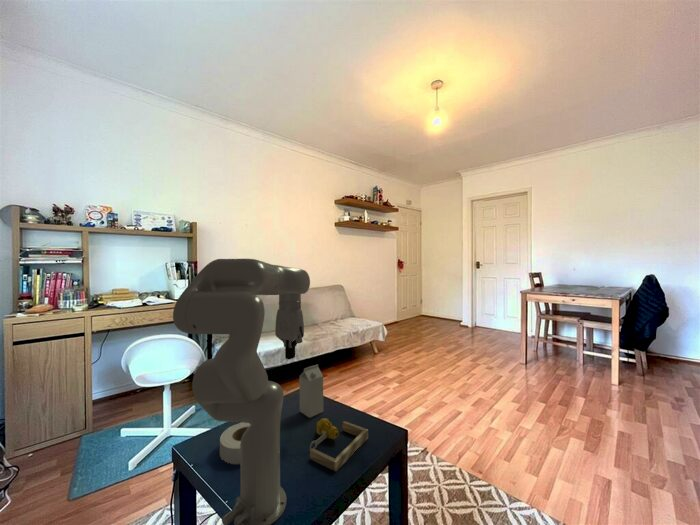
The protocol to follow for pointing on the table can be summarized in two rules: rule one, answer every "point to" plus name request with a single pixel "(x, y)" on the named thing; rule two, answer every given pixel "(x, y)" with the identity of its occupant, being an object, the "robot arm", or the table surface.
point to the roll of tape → (232, 443)
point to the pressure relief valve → (325, 431)
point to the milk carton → (311, 391)
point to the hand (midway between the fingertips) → (290, 357)
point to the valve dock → (346, 453)
